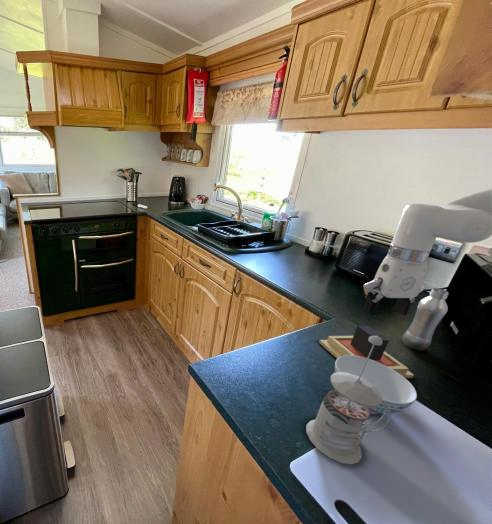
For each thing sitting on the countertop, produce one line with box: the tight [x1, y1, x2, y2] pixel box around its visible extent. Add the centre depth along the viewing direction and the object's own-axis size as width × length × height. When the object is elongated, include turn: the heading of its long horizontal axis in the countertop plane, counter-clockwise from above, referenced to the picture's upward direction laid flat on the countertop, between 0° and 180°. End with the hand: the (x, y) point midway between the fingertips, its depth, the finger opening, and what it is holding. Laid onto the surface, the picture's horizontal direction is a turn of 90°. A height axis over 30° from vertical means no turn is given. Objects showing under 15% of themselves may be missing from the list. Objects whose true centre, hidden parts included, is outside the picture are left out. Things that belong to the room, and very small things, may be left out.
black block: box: [338, 325, 394, 366], centre depth 83 cm, size 8×11×8 cm
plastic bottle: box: [401, 287, 449, 352], centre depth 89 cm, size 6×7×20 cm
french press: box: [305, 336, 392, 465], centre depth 54 cm, size 10×12×25 cm
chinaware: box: [334, 355, 418, 415], centre depth 67 cm, size 15×15×8 cm
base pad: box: [318, 335, 415, 379], centre depth 84 cm, size 16×16×3 cm
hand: (384, 313), depth 79 cm, fingers open, 9 cm apart
